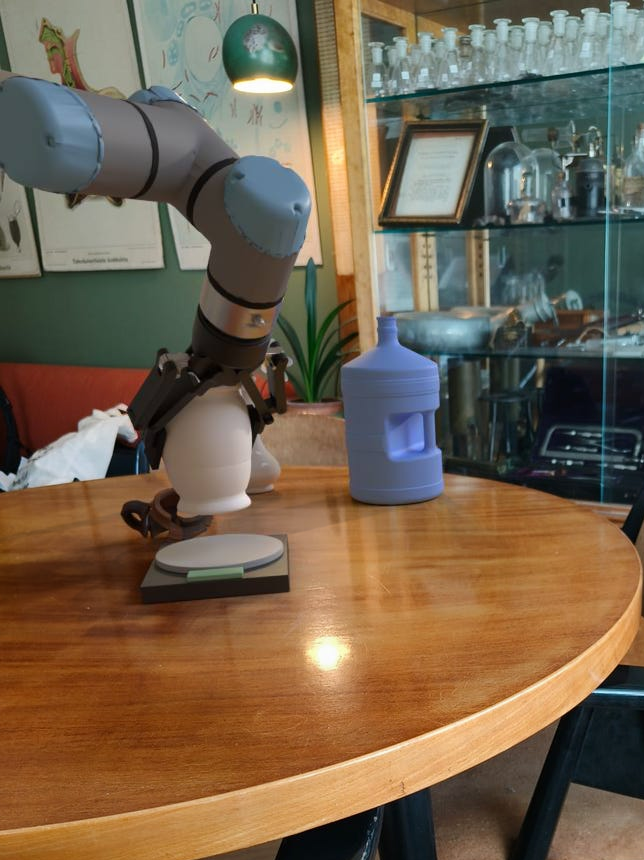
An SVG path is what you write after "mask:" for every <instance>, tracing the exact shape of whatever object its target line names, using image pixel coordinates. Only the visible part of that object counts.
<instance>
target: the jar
mask: <svg viewBox="0 0 644 860" xmlns="http://www.w3.org/2000/svg"><path fill="white" fill-rule="evenodd" d="M196 378H197V377H196ZM197 380H198V382H200V380H199V379H198V378H197ZM242 387H243V385H242V383H241V382H240V383H237V384H236V386H219V387H216V388H210V389H209V390H208V391H207V392H206V393H205V394H204V395H202V396H196V397H195V398H194V399H193V400H192V401H190V402H189V403H188V404H187V405H186V406H185V407H184V408H183V409H182V410H181V411H180V412H179V413H178V414H177V415H176V416H175V417H174V418H173V419H171V420H170V421H169V422H168V423H167V424H166V425H165V426H164V428H165V430H166V432H167V435H166V440H165V444H164V448H163V453H162V457H161V460H162V461H163V464H164V469H165V472H166V474H167V477H168V480H169V482H170V484H171V486H172V488H174V489H175V491H176V492H177V494H178V495H179V496H180V501H179V503H178V505H177V510H178V511H177V512H179V513H181V514H184V515H191V516H197V515H212V516H214V515H222V514H229V513H230V514H231V513H235V512H237V511H242V510H244V509H246V508H248V507H249V506H251V504H252V500H251V498H250V496H248V494H246V493H245V489H246V488H247V486H248V483H249V479H250V473H251V451H252V433H251V424H250V419H249V414H248V410H247V406H246V403H245V400H244V398H243V396H242V393H241V388H242Z"/></svg>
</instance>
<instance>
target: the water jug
mask: <svg viewBox="0 0 644 860" xmlns="http://www.w3.org/2000/svg"><path fill="white" fill-rule="evenodd" d="M375 319H376V321H377V328H376V332H377V343H376V344H375V346H373V347H371V348H370V349H368V350H367V351H365V352H363V353H362V354H359V356H357V357H355V358H353V359H351V360H350V361H348V362H346V363H345V364H343V365H341V368H340V377H341V378H340V389H341V394H342V401H343V402H342V403H343V414H344V416H343V417H344V429H345V430H344V439H345V446H346V452H347V464H348V477H349V481H348V489H349V495H350V496H351V497H352V498H353V500H355V501H357V502H360V503H364V504H370V505H382V506H384V505H386V506H390V505H391V506H394V505H396V506H397V505H407V504H408V505H409V504H417V503H422V502H427V501H430V500H434V499H436V498H438V497H439V496H441V495H442V494H443V492H444V490H445V482H444V481H445V480H444V476H443V459H442V458H443V456H442V455H443V453H442V450H441V449H440V448H439V447H437V446H436V445H437V444H436V422H435V420H436V419H435V413H436V411H437V410H438V409H439V408H440V406H441V405H440V389H441V388H440V375H439V366H438V363H436V362H435V361H433V360H432V359H430V358H428V357H425V356H424V355H421V354H420V353H417V352H415V351H413V350H411V349H409V348H407V347H406V346H403V345H401V344H400V343H399V340H398V326H397V319H398V317H397V316H396V315H394V316H393V315H392V316H391V315H390V316H376V317H375Z"/></svg>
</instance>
